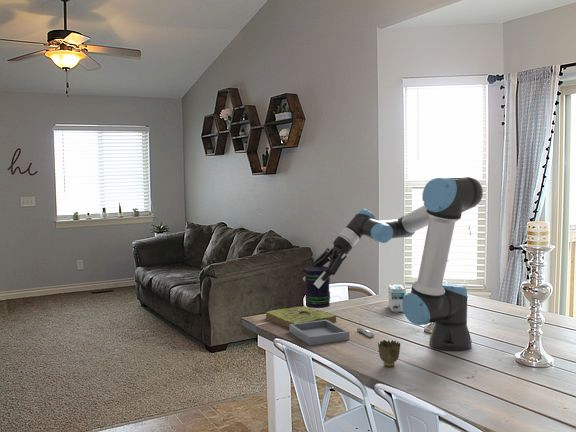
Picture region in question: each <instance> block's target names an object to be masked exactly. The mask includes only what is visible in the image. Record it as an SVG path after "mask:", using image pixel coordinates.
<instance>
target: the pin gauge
mask: <svg viewBox="0 0 576 432" xmlns="http://www.w3.org/2000/svg"><path fill="white" fill-rule="evenodd" d="M356 330H357V332H359V333H361V334H362V335H365V336H367V337H368V338H374V336H375V334H374V333H373V332H371V331H370V330H367V329H365V328H363V327H361V326H358V327H357V328H356Z"/></svg>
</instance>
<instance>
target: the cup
mask: <svg viewBox="0 0 576 432" xmlns="http://www.w3.org/2000/svg"><path fill="white" fill-rule="evenodd" d="M377 345H378V347H377V348H378V354H379V358H380V360H381V361H382V362H383V365H384V367H386V368H393V367H394V366H395V364H396V362H397V360H399V357H400V353H401V352H400V351H401V349H400V348H401V342H399V341H396V340H391V341H390V340H389V339H388V340H386V339H383V340H380V341H379V342H377Z"/></svg>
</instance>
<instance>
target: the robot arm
mask: <svg viewBox="0 0 576 432" xmlns="http://www.w3.org/2000/svg"><path fill="white" fill-rule="evenodd" d="M483 193H484V190H483V186H482V184H481V183H480V181H478V179H476V178H475V177H473V176H471V175H442V176H438V177H433V178H432V179H430V180H429V181H428V182H427V183H426V184H425V186H424V188H423V190H422V197H421V198H422V199H421V200H422V201H423V205H422V206H420V207H418V208H417V209H415V210H413V211H411V212H409V213H407V214H404V215H403V216H401V217H399V218H396V219H384V220H383V219H382V220H377V218H376V215H375V214H374V213H372V212H371V211H370V210H368V209H367V208H361V209H360V210H359V211H358V212H357V213H356V214H355V215H354V216H353V218H352V219H351V220H350V221H349V222H348V224H347V225H346V226H345V227H344V228H343V230H342V231H340V233H339V236H337V237H336V238H335V239H334V240H333V242H332V245H333V247H331V248H329V247H327V248H326V249H325V250H324V251H323V252H322V253H321V254H320V255H319V256H318V257H317V258H316V259H315V260H314V261H313V262H312V263H311V266H325V265H326V264H328V263H329V264H328V265H327V266H326V267H327V269H325V271H326V272H325V271H324V272H323V273H322V274H321V275H320V277H319V278H318V279H317V280H316V281H315V283H314V285H315V286H316V287H317V288H320V287H321V285H322V284H323V283H324V282H325V281H326V279H327V278H328V277H329V276H330V277H331V276H335V274H337V271H338V270H339V268H341V266H342V263H343V262H344V260H346V258H347V255H348V254H349V253H350V252H351V251H352V249H353V247H355V245H357V244H358V242H359V240H361V239H362V237H363V236H364V237H367V238H369V239H372V240H374V241H375V242H378V243H381V244H385V243H388V242H389V241H391V240H392V239H400V238H408V237H412V236H413V235H415V233H416V232H417V231H419V230H421V229H424V228H425V227H427V230H426V235H425V242H424V245H423V251H422V257H421V261H420V265H419V270H418V276H417V280H415V281H414V282H413V283H412V284H411V285H412V286H411V290H410V292H408V293H406V295H405V296H404V298H403V300H402V309H403V314H404V315H405V317H406V319H407V320H408V321H409V322H410V323H411V324H413V325H415V326H422V325H428V324H431V323H432V324H433V323H434V325H433V327H432V332H431V334H430V336H429V345H430V346H431V347H433V348H435V349H438V350H443V351H451V352H453V351H454V352H459V351H467V350H469V349H472V345H473V344H472V343H473V341H472V337H471V335H470V331H469V328H468V297H469V296H468V289H467V288H466V287H465V286H463V285H461V284H457V283H450V282H443V281H444V276H445V272H446V267H447V263H448V257H449V253H450V248H451V243H452V239H453V234H454V229H455V225H456V224H455V223H457V222H458V221H459V220H461V218H462V214H463V212H466V211H468V210H470V209H474V208H475V207H477V206H478V205H479V203H480V202H481V201H482V200H483V199H482V198H483ZM302 280H303V281H304V282H305V276H304V277H303V278H302Z"/></svg>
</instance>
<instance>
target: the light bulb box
mask: <svg viewBox="0 0 576 432" xmlns="http://www.w3.org/2000/svg"><path fill="white" fill-rule="evenodd" d="M406 290H407V289H406V288H405V287H404V286H403V284H388V308H389V310H390V311H391V312H395V313H396V312H397V313H398V312H403V309H402V300H403V298H404V296H405V295H407V293H406V292H407V291H406ZM403 313H404V312H403Z"/></svg>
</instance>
